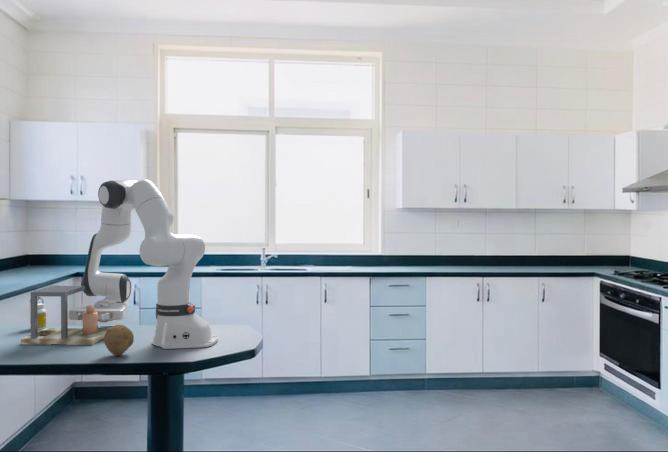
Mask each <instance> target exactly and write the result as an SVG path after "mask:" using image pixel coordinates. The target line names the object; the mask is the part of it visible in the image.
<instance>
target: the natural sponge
mask: <svg viewBox="0 0 668 452" xmlns="http://www.w3.org/2000/svg"><path fill="white" fill-rule="evenodd" d="M107 329H108V330H107V331H106V333H105V335H104V339H103V341H104V344H105V347H106V349H107V351H109V352H110V354H112V355H113V356H116V357H118V356H122V355H123V354H124V353H126V351H127V350H129V348H130V347H132V345H133V343H134V341H135V339H134V334H133V331H132V330H131V329H130V328H129V327H128V326H126V325H124V324H115V325H113V326H111V327H109V328H107Z"/></svg>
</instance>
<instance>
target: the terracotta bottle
mask: <svg viewBox="0 0 668 452" xmlns="http://www.w3.org/2000/svg"><path fill="white" fill-rule="evenodd" d="M85 307H86V312H84V313H83V320H82V328H83V334H84V335H91V334H96V333H98V329H99V326H98V325H99V324H98V323H99V321H98V312H95V311H94V304H93V305H92V304H89V305H86V306H85Z"/></svg>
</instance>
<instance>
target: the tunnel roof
mask: <svg viewBox="0 0 668 452" xmlns="http://www.w3.org/2000/svg"><path fill="white" fill-rule="evenodd" d="M83 290H85V286H81V285H50V286H46V287H43V288H40V289H36V290H33V291H30V313H31V314H30V335H31V339H36V338H38V331H39V330H38V318H37V304H38V297H60V328H61V339H67V338H68V326H69V325H68V324H69V323H68V319H69V310H68V296H70V295H74V294H76V293H77V294H78V293H79V292H83Z"/></svg>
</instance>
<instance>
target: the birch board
mask: <svg viewBox="0 0 668 452" xmlns="http://www.w3.org/2000/svg"><path fill="white" fill-rule="evenodd" d="M108 329H109V328H98V333H96V334H91V335H84V334H83V327H82V328H81V327H80V328H75V327H74V328H72V327H71V328H70V327H69V328H68V338H67V339H61V327H59V328H58V327H57V328H56V327H53V328H51V327H50V328H49V327H46V328H45V329H41V330H38V338H36V339H31V334H29V335H26V336H24V337H22V338H20V345H34V346H35V345H42V346H43V345H44V346H45V345H47V346H49V345H50V346H51V344H66V345H67V346H69V345H70V346H71V345H73V346H74V345H75V346H80V345H81V346H83V345H84V346H93V345H96V344H97V343H98V342H100V341H102V340H104V335H105V333H106V331H107V330H108ZM66 345H65V346H66Z"/></svg>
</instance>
